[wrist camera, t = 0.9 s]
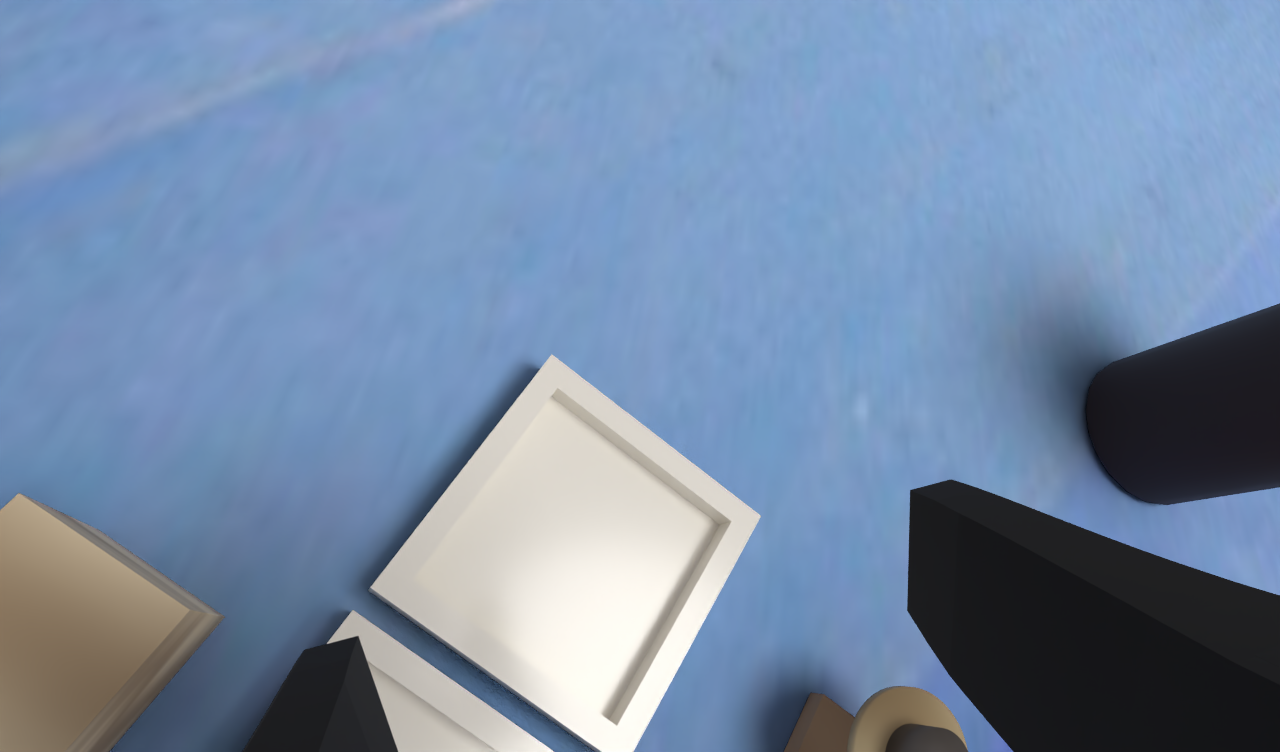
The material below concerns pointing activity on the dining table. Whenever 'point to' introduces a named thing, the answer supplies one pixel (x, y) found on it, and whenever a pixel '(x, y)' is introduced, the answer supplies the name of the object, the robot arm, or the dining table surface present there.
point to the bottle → (1193, 413)
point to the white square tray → (430, 701)
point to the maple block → (83, 632)
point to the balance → (878, 725)
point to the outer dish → (572, 560)
